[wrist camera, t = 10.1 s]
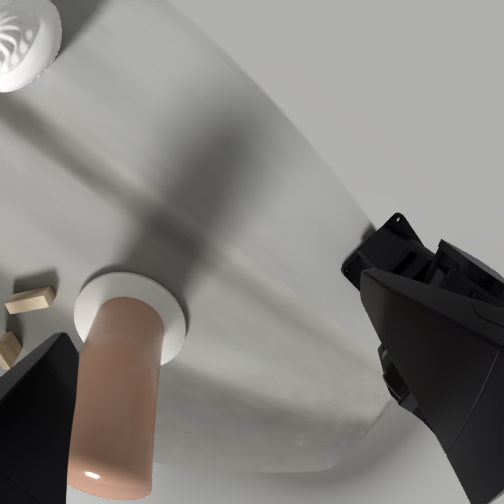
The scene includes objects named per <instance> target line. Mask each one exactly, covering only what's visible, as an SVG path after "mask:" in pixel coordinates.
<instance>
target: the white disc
mask: <svg viewBox="0 0 504 504" xmlns="http://www.w3.org/2000/svg"><path fill="white" fill-rule="evenodd" d="M116 297H132V298H136V299H139V300H141V301H143V302H145V303H147V304H148V305H150V306H151V307H152V308H154V309H155V310H156V311H157V313H158V314H159V315H160V317H161V319H162V321H163V324H164V340H163V348H162V356H161V365H163V364H165V363H167V362H168V361H170V360H171V359H172V358H174V357H175V356H176V355H177V353H178V352H179V351H180V349H181V347H182V345H183V343H184V339H185V333H186V321H185V316H184V313H183V310H182V308H181V306H180V304H179V302H178V301H177V300H176V298H175V297H174V296H173V295H172V293H171V292H170V291H169V290H167V289H166V288H165V287H164V286H163V285H161V284H160V283H158V282H157V281H155V280H153V279H151V278H149V277H146V276H144V275H141V274H137V273H132V272H110V273H106V274H103V275H100V276H98V277H96V278H94V279H93V280H91V281H90V282H89V283H88V284H86V286H85V287H84V288H83V289H82V291H81V293H80V294H79V296H78V298H77V300H76V303H75V307H74V321H75V326H76V329H77V331H78V334H79V335H80V337H81V339H82V340H83V342H85V339H86V337H87V335H88V332H89V330H90V327H91V325H92V323H93V320H94V318H95V316H96V314H97V311H98V309H99V308H100V306H101V305H102V304H103V303H105V302H106V301H108V300H110V299H112V298H116ZM161 365H160V366H161Z"/></svg>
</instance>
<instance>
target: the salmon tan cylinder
mask: <svg viewBox="0 0 504 504" xmlns="http://www.w3.org/2000/svg"><path fill="white" fill-rule="evenodd" d="M163 340H164V324H163V321H162V319H161V317H160V315H159V314H158V313H157V311H156V310H155V309H154V308H152V307H151V306H150V305H148V304H147V303H145V302H143V301H141V300H139V299H136V298H132V297H116V298H112V299H110V300H108V301H106V302H105V303H103V304H102V305H101V306H100V308H99V309H98V311H97V314H96V316H95V318H94V320H93V323H92V325H91V327H90V330H89V332H88V335H87V337H86V339H85V342H84V344H83V347H82V349H81V352H80V354H79V369H78V381H77V396H76V405H75V412H74V418H73V426H72V434H71V442H70V451H69V462H68V474H67V485H70V486H71V487H73V488H75V489H77V490H80V491H82V492H85V493H88V494H91V495H94V496H98V497H102V498H107V499H114V500H135V499H140V498H143V497H145V496H147V495H148V494H150V492H151V490H152V468H153V448H154V432H155V419H156V406H157V395H158V385H159V375H160V365H161V356H162V348H163Z"/></svg>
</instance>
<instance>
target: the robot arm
mask: <svg viewBox="0 0 504 504" xmlns="http://www.w3.org/2000/svg"><path fill="white" fill-rule="evenodd" d="M398 218H400V219H399V221H398V222H397V219H398ZM438 247H439V248H438V250H437V252H436V254H434V253H433V252H431V251H430V250H429V249H427V248H426V247H424V245H423V244H422V242H421V241H420V239H419V238H418V236H417V235H416V233H415V232H414V230H413V229H412V227H411V226H410V224H409V223H408V221H407V220H406V218H405V217H404V216H403V215H402V214H401V213H395V214H394V215H393V216H392V217H391V218H390V219H389V220H388V221H387V222H386V223H385V224H384V225H383V226H382V227H381V228H380V229H378V230H377V231H376V232H375V233H374V234H373V235H372V236H371V237H370V238H369V239H368V240H367V241H366V242H365V243H364V244H363V245H362V246H361V247H360V248H359V250H358V251H357V252H356V253H355V254H354V255H353V256H352V257H351V258H350V259H349V260H348V261H347V262H346V263H345V264H344V265H343V266H342V268H341V272H342V273H343V275H344V276H345V277H346V278H347V279H348V280H349V281H350V282H351V283H352V284H353V285H354V286H355V287H356V288H357V289H358V290H359V291H360V296H361V301H362V304H363V306H364V308H365V310H366V312H367V314H368V316H369V318H370V320H371V322H372V324H373V327H374V329H375V331H376V333H377V335H378V337H379V339H380V341H381V345H380V346H379V348H378V353H379V357H380V361H381V365H382V369H383V373H384V374H383V378H384V381H385V383H386V385H387V388H388V390H389V392H390V394H391V396H392V397H394V398H395V400H396V401H398V404H399V405H400V406H401V407H403V408H405V409H406V410H408V411H410V412H412V413H413V414H414V415H415V416H417V417H418V418H419V419H420V420H422V421H423V422H424V423H425V424H426V425H427V426H428V427H429V428H430V429H431V431H432V432H433V433H434V434H435V435H436V437H437V439H438V441H439V442H440V444H441V446H442V448H443V450H444V452H445V454H447V458H448V460H449V462H450V463H451V466H452V467H453V469H454V471H455V473H456V475H457V477H458V479H459V481H460V483H461V485H462V487H463V489H464V491H465V493H466V495H467V497H468V499H469V501H470V503H471V504H490V503H492V502H493V501H494V500H496V499H497V498H498V497H500V496H501V495H502V494H504V278H503V277H502V276H501V275H500V274H499V273H497V272H496V271H494V270H493V269H491V268H490V267H489V266H487V265H486V264H484V263H483V262H481V261H480V260H478V259H476V258H474V257H473V256H471V255H469V254H468V253H466V252H464V251H462V250H460V249H459V248H457V247H455V246H453V245H451V244H450V243H448V242H446V241H444V240H442V239H441V241H440V243H439V245H438ZM348 268H350V270H349V271H347V272H346V270H347V269H348ZM78 369H79V354H78V352H77V350H76V348H75V346H74V344H73V343H72V341H71V339H70V337H69V336H68V334H67V333H65V332H61V333H55V334H53V335H52V336H51V337H49V338H48V339H47V340H45V341H44V342H43V343H42V344H40V345H39V346H38V347H37V348H35V349H34V350H33V351H32V352H30V353H29V354H28V355H27V356H25V357H24V358H23V359H22V360H21V361H19V362H18V363H17V364H16V365H14V366H13V367H12V368H11V369H10V370H8V371H7V372H6V373H5V374H4V375H2V376H1V377H0V504H66V490H67V474H68V462H69V451H70V442H71V434H72V426H73V418H74V412H75V405H76V396H77V381H78Z"/></svg>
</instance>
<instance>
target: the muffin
mask: <svg viewBox="0 0 504 504" xmlns="http://www.w3.org/2000/svg"><path fill="white" fill-rule="evenodd" d="M61 34H62V27H61V20H60V16H59V13H58V10H57V8H56V7H55V5H54V4H53V3H52V2H51V1H49V0H15V1H13V2H11V3H9V4H8V5H6V6H5V7H3V8H0V92H11V91H14V90H17V89H20V88H22V87H23V86H25V85H27V84H28V83H30V82H31V81H32V82H33V81H34V80H35V79H36V78H37V77H38V76H41V75H42V74H43V72H44V71H45V70H47V69H48V67H49V66H50V65H51V64H52V62H53V61H54V60H55V57H56V56H57V55H58V51H59V50H60V45H61V40H62V35H61Z"/></svg>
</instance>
